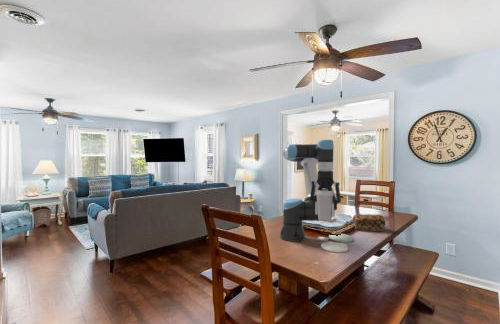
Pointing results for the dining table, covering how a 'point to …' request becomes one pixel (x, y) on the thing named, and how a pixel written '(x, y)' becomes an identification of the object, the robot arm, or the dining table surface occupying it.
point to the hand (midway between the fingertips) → (325, 214)
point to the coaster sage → (341, 238)
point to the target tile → (322, 239)
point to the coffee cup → (324, 204)
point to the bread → (369, 222)
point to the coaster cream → (335, 247)
